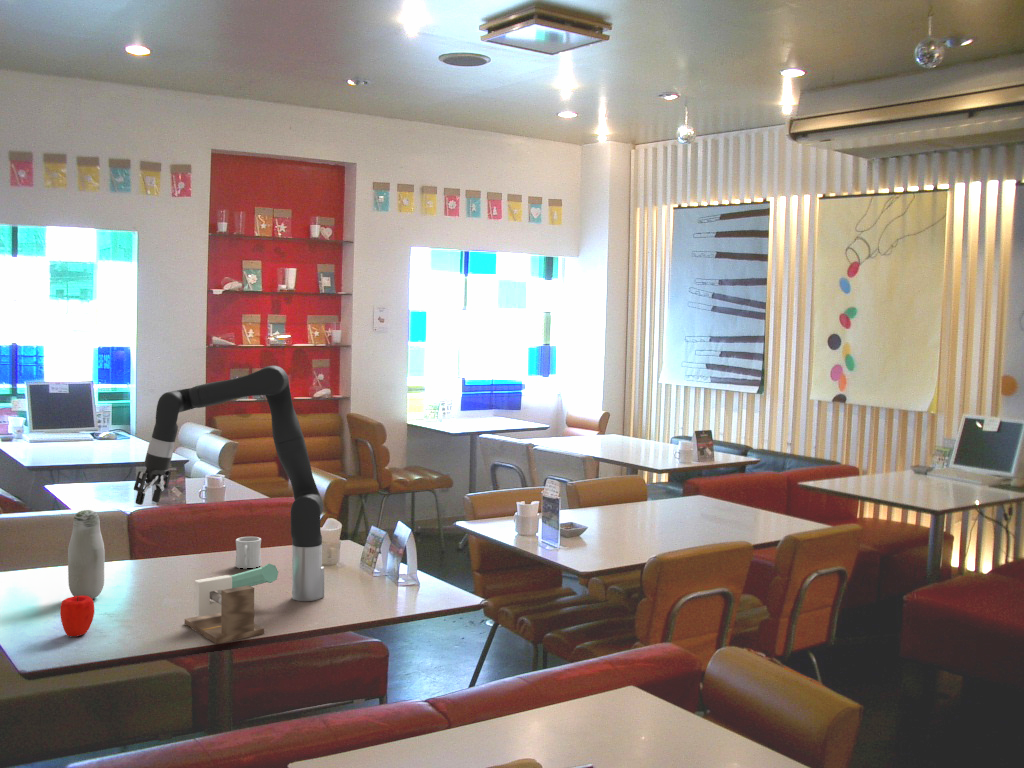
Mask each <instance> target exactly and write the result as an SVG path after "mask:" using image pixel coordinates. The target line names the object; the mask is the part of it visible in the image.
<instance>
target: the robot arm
mask: <svg viewBox="0 0 1024 768" xmlns="http://www.w3.org/2000/svg"><path fill="white" fill-rule="evenodd" d="M289 382H290V381H289V376H288V374H287V372H286V371H285V369H283V368H282V367H280V366H278V365H267V366H265V367H263V368H261V369H259V370H257V371H255V372H251V373H250V374H247V375H243V376H240V377H236V378H231V379H226V380H225V379H224V380H219V381H218V380H217V381H212V382H208V383H204V384H199V385H195V386H193V387H189V388H184V389H183V388H182V389H177V390H172V391H168V392H164V393H162V395H160V397H159V398H158V400H157V405H156V411H155V425H154V427H153V430H152V435H151V438H150V440H149V444H148V447H147V451H146V455H145V459H144V462H143V464H144V466H145V468H146V469H145V471H144V472H143V471H141V470H140V471H138V472H137V475H136V480H135V483H134V485H133V486H134V487H133V490H134V491H136V492H137V494H136V498H135V504H136V505H140V506H142V505H143V504H144V500H145V497H146V492H147V491H148V490H149V489H150V488H152V486H154V491H153V495H152V499H151V501H152V502H153V503H160V500H161V496H162V492H163V491H164V490H167V489H168V487H169V482H170V479H171V478H170V477H171V475H172V471H171V470H170V466H171V461H172V458H173V454H174V449H175V443H176V440H177V439H176V438H177V435H178V429H179V426H178V423H177V422H178V418H179V413H182V412H183V413H184V412H185V411H189V410H193V409H200V408H205V407H211V406H214V405H215V406H216V405H218V404H223V403H226V402H230V401H232V400H237V399H240V398H241V399H242V398H245V397H253V396H254V397H255V396H265V398H266V401H267V403H268V406H269V410H270V414H271V416H270V417H271V430H272V431H271V432H272V439H273V442H274V447H275V451H276V454H277V457H278V459H279V462H280V464H281V466H282V468H283V470H284V471H285V473H286V474H287V477H288V479H289V481H290V485H291V488H292V492H293V493H292V494H293V497H294V501H293V502H292V504H291V507H290V534H291V535H290V536H291V539H292V540H291V541H292V543H291V544H292V545H291V547H292V548H291V549H292V550H291V551H292V552H291V553H292V556H291V557H292V558H291V561H292V562H291V563H292V564H291V567H292V569H291V571H292V572H291V576H292V577H291V579H292V582H291V584H292V585H291V598H292V600H293V601H298V602H311V601H312V602H313V601H317V600H321V599H322V598H325V567H324V566H323V536H322V533H321V532H322V531H321V516H322V513H323V511H324V501H323V499H322V496H321V494H320V492H319V489H318V487H317V484H316V481H315V478H314V476H313V471H312V466H311V461H310V457H309V453H308V449H307V448H308V447H307V444H306V440H305V437H304V434H303V431H302V428H301V424H300V422H299V419H298V416H297V413H296V410H295V407H294V404H293V400H292V393H291V387H290V383H289Z"/></svg>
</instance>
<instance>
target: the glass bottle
mask: <svg viewBox="0 0 1024 768" xmlns="http://www.w3.org/2000/svg"><path fill="white" fill-rule="evenodd" d="M100 521H101V520H100V517H99V514H98V513H97V512H96V511H94V510H91V509H86V510H85V509H84V510H81V511H78V512H77V513H76V514H75V515H74V518H73V521H72V522H73V523H72V531H71V535H70V536H71V537H70V540H69V544H68V548H67V570H68V571H67V572H68V577H67V579H68V587H69V588H68V589H69V591H70V593H71V595H72V597H74V596H89V597H90V598H92V599H93V600H95V599H96V598H97V597H98V596H100V594H101V593H102V591H103V589H104V586H105V562H106V561H105V559H106V557H105V554H106V550H105V543H104V538H103V535H102V532H101V525H100V524H101V523H100Z"/></svg>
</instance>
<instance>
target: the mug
mask: <svg viewBox="0 0 1024 768" xmlns="http://www.w3.org/2000/svg"><path fill="white" fill-rule="evenodd" d="M261 543H262V538H261V537H258V536H241V537H238V538H236V539H235V546H236V548H235V549H236V550H235V552H236V554H235V555H236V556H235V563H234V564H235V565H234V567H236V568H237V569H240V568H243V569H242V570H248V569H247V568H253V569H257V568H256V567H258V568H260V567H262V555H261V546H262V544H261ZM259 566H260V567H259Z"/></svg>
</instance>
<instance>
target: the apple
mask: <svg viewBox="0 0 1024 768" xmlns="http://www.w3.org/2000/svg"><path fill="white" fill-rule="evenodd" d="M59 608H60V612H59V614H60V622H61V625H62V628H63V630H64V633H65V634H66V636H67V637H69V636H76V637H79V636H83V635H85V634H86V633H88V631H89V630H90V627H91V625H92V623H93V620H94V616H95V602H94V599H92V598H90V597H89V596H71V597H67V598H65V599H63V600H62V601H61V603H60V607H59Z"/></svg>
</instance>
